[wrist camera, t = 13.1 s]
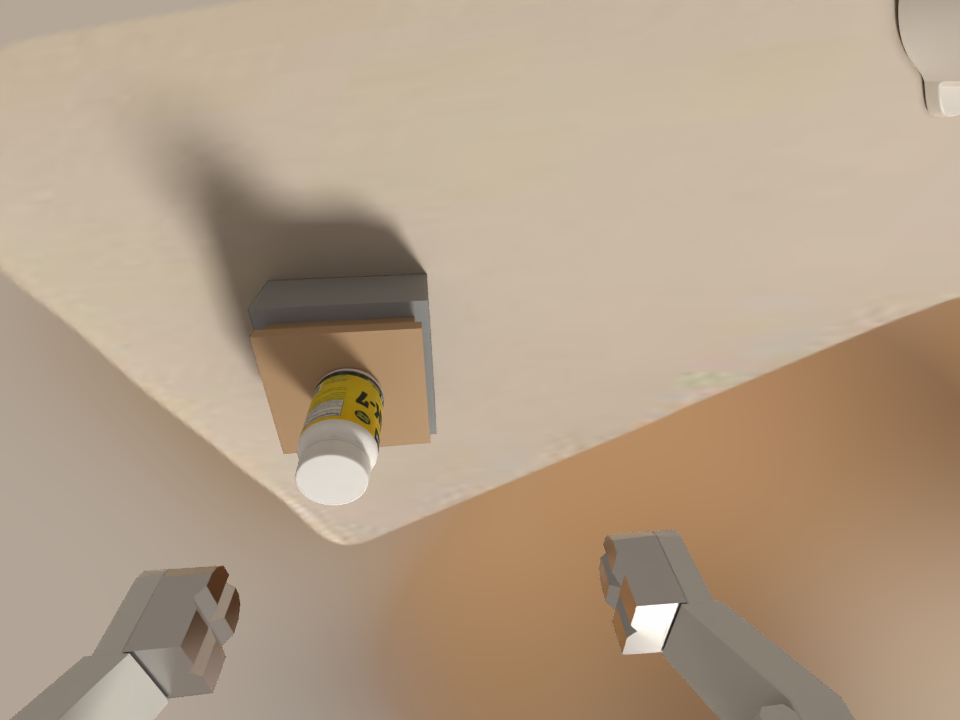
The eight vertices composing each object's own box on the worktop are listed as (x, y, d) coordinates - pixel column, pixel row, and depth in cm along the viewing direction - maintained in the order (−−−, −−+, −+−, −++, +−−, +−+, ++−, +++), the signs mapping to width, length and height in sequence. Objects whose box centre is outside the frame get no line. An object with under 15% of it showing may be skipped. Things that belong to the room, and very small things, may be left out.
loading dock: (426, 273, 37) (428, 314, 31) (434, 398, 43) (437, 452, 37) (267, 280, 36) (237, 323, 30) (299, 407, 42) (279, 464, 36)
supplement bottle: (394, 409, 35) (388, 497, 28) (334, 428, 35) (312, 520, 28) (367, 357, 32) (353, 439, 25) (302, 377, 32) (270, 465, 25)
